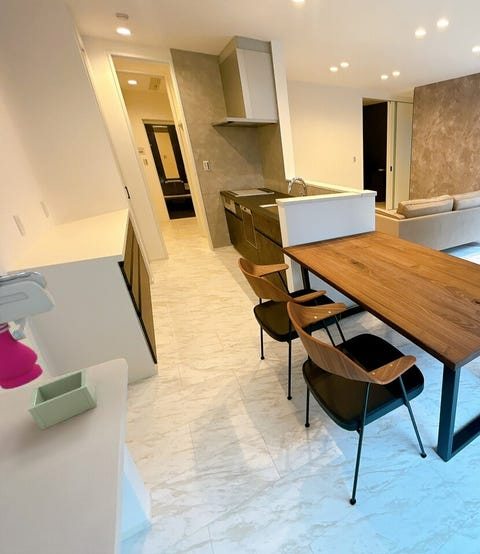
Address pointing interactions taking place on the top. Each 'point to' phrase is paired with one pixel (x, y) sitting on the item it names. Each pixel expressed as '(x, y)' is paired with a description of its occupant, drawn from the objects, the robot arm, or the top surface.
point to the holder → (62, 398)
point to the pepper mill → (16, 361)
